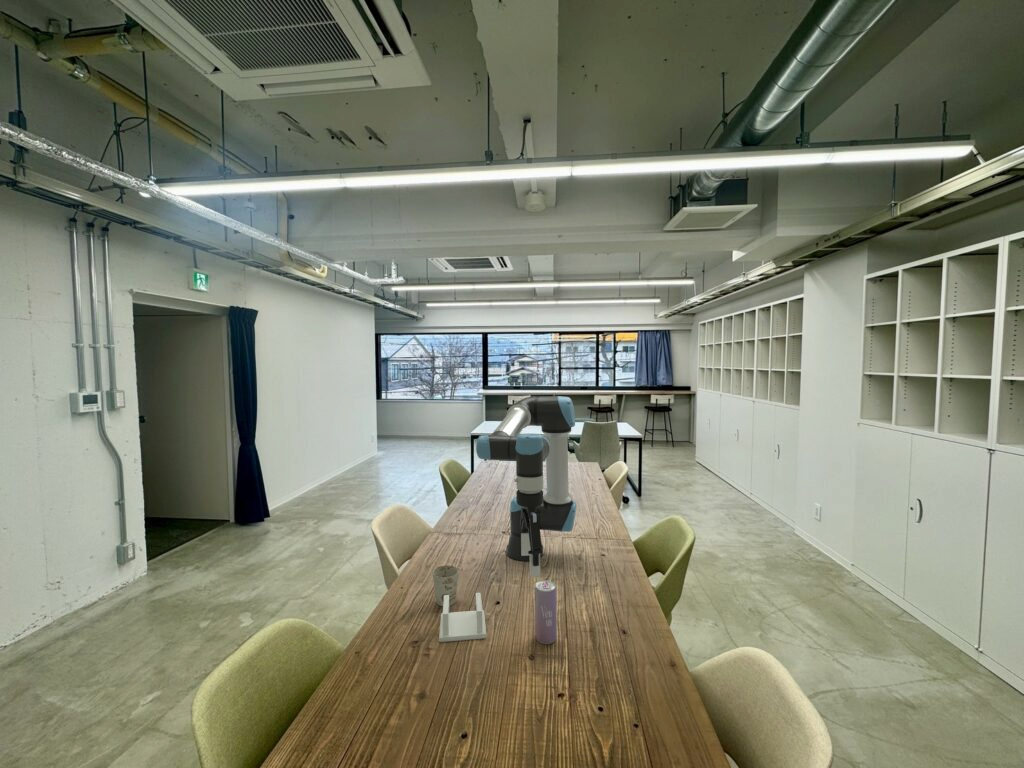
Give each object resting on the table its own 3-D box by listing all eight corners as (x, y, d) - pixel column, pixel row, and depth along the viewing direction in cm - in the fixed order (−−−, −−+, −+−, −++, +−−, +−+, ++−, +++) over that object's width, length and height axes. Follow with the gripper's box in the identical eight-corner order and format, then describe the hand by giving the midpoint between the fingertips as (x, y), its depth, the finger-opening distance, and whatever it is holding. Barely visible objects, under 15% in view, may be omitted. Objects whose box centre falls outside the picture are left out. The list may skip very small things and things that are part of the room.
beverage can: (555, 631, 121) (554, 579, 121) (558, 644, 115) (557, 590, 115) (534, 632, 121) (533, 580, 120) (536, 645, 115) (535, 591, 114)
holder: (441, 617, 129) (440, 593, 128) (483, 613, 130) (483, 590, 130) (439, 642, 117) (438, 616, 117) (486, 638, 118) (486, 612, 118)
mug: (434, 610, 132) (433, 578, 132) (430, 590, 144) (430, 561, 144) (460, 606, 135) (460, 575, 134) (455, 587, 147) (454, 558, 146)
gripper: (510, 479, 130) (510, 548, 130) (524, 503, 105) (524, 588, 106) (534, 478, 131) (534, 546, 131) (553, 502, 106) (554, 586, 107)
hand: (530, 565), depth 119 cm, fingers open, 13 cm apart
